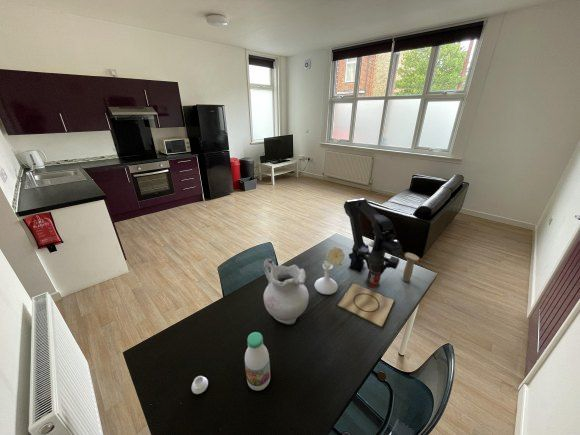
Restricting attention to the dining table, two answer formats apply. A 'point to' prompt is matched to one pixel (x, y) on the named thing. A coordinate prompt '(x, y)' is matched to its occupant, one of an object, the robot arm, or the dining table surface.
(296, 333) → the dining table surface
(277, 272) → the ceramic pitcher
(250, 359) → the milk bottle
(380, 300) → the circle mat
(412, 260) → the handle
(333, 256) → the flower in vase
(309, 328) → the dining table surface
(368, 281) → the deodorant
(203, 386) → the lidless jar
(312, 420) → the dining table surface
